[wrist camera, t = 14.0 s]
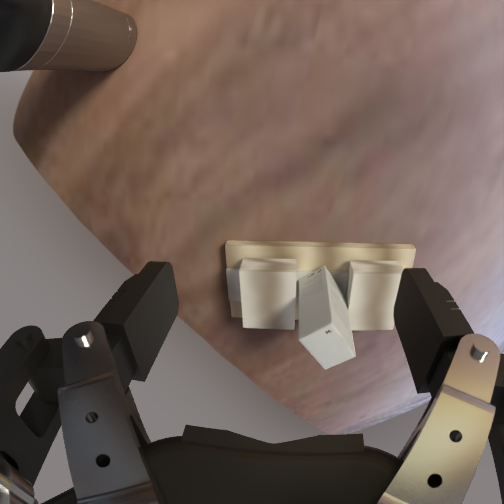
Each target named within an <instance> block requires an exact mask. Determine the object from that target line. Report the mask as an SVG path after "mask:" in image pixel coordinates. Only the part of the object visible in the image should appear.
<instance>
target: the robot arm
mask: <svg viewBox="0 0 504 504" xmlns="http://www.w3.org/2000/svg"><path fill="white" fill-rule="evenodd" d="M136 39H137V28H136V25H135V22H134V20H133V19H132V18H131V17H130V16H129V15H127V14H125V13H123V12H121V11H118V10H116V9H113V8H111V7H108V6H106V5H103V4H100V3H97V2H95V1H92V0H0V72H9V71H22V70H83V71H100V72H101V71H109V70H112V69H114V68H116V67H118V66H119V65H121V64H122V63H123V62H124V61H125V60H126V59H127V58H128V57H129V55H130V54H131V52H132V50H133V48H134V46H135V43H136ZM178 307H179V301H178V295H177V290H176V284H175V279H174V273H173V268H172V265H171V263H170V262H154V261H150V262H148V263H147V264H146V265H145V267H144V268H143V269H142V270H141V272H140V273H139V274H135V275H134V276H132V277H131V278H129V279H128V280H126V281H125V282H124V283H123V284H122V285H121V287H120V288H119V289H118V292H116V293H115V294H114V295H113V296H112V299H110V300H109V302H108V303H107V304H106V305H105V307H104V308H103V309H102V310H101V312H100V313H99V314H98V315H97V317H96V318H95V319H94V321H86V322H81V323H78V324H76V325H74V326H72V327H71V328H70V329H68V330H67V331H66V333H65V334H64V336H63V338H54V339H45V337H44V335H43V333H42V330H41V329H40V328H39V327H37V326H26V327H23V328H21V329H19V330H17V331H16V332H14V333H13V334H12V335H11V336H10V338H9V339H8V340H7V341H6V342H5V344H4V345H3V346H2V348H1V349H0V504H38V501H37V500H36V499H35V498H34V489H33V486H34V483H35V481H36V479H37V476H38V474H39V472H40V469H41V467H42V465H43V463H44V461H45V458H46V456H47V454H48V452H49V450H50V447H51V445H52V443H53V441H54V439H55V437H56V435H57V433H58V431H59V429H60V427H61V425H62V431H63V438H64V443H65V448H66V454H67V459H68V464H69V469H70V473H71V477H72V481H73V485H74V487H73V488H71V489H69V490H67V491H65V492H64V493H61V494H60V495H57V496H55V497H54V498H52V499H50V500H48V501H46V502H44V503H41V504H462V502H463V500H464V498H465V495H466V493H467V491H468V489H469V486H470V484H471V482H472V479H473V477H474V474H475V472H476V469H477V466H478V464H479V461H480V459H481V456H482V453H483V450H484V447H485V444H486V441H487V438H488V439H489V443H490V446H491V450H492V454H493V458H494V463H495V467H496V472H497V476H498V481H499V487H500V493H501V498H502V504H504V354H500V351H499V348H498V347H497V345H496V344H495V343H494V342H493V341H492V340H491V339H489V338H488V337H486V336H483V335H480V334H474V332H473V330H472V329H471V327H470V325H469V323H468V322H467V320H466V318H465V317H464V315H463V314H462V312H461V310H459V307H458V305H457V304H456V302H454V299H453V298H452V296H451V294H450V293H449V291H448V290H447V289H445V288H444V287H443V286H442V285H440V284H439V283H438V282H434V281H433V279H432V278H431V276H430V275H429V273H428V272H427V270H426V269H425V268H405V269H404V270H403V272H402V275H401V279H400V284H399V288H398V292H397V296H396V301H395V305H394V313H393V315H394V323H395V326H396V329H397V331H398V334H399V337H400V340H401V343H402V346H403V349H404V352H405V355H406V358H407V361H408V364H409V367H410V370H411V374H412V377H413V380H414V383H415V387H416V390H417V394H419V393H427V392H430V393H431V396H432V398H431V399H430V401H429V403H428V405H427V407H426V409H425V411H424V413H423V414H422V416H421V418H420V420H419V422H418V424H417V426H416V427H415V429H414V431H413V433H412V434H411V437H410V438H409V440H408V441H407V443H406V445H405V446H404V448H403V450H402V451H401V452H400V454H399V456H398V457H396V456H394V455H392V454H390V453H388V452H385V451H383V450H380V449H377V448H373V447H369V446H364V442H363V434H346V435H318V436H314V437H309V438H304V439H300V440H294V441H288V442H283V443H276V444H271V443H266V442H263V441H259V440H256V439H253V438H250V437H246V436H243V435H240V434H237V433H234V432H231V431H228V430H220V429H219V430H218V429H212V428H204V427H197V426H191V425H186V426H185V429H184V432H183V435H182V436H176V437H170V438H165V439H161V440H157V441H155V442H152V443H151V441H150V439H149V437H148V435H147V433H146V430H145V428H144V425H143V423H142V420H141V418H140V415H139V412H138V410H137V407H136V404H135V402H134V399H133V396H132V393H131V391H130V388H129V384H130V382H131V380H137V381H144V382H145V380H146V378H147V375H148V374H149V371H150V369H151V367H152V365H153V363H154V361H155V359H156V357H157V355H158V353H159V351H160V348H161V347H162V344H163V343H164V340H165V338H166V336H167V334H168V332H169V330H170V328H171V326H172V324H173V322H174V320H175V318H176V316H177V313H178ZM27 382H29V384H30V385H31V387H32V388H33V390H34V393H33V395H32V396H31V398H30V400H29V401H28V403H27V405H26V406H25V408H24V410H23V411H22V413H21V415H20V417H19V416H18V414H17V412H16V408H15V404H16V400H17V398H18V396H19V395H20V393H21V392H22V390H23V389H24V387H25V385H26V384H27Z"/></svg>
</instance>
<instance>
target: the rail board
mask: <svg viewBox="0 0 504 504" xmlns="http://www.w3.org/2000/svg"><path fill="white" fill-rule="evenodd" d="M225 251H226V263H227V270H226V274H227V285H228V295H229V301H230V306H231V316H232V317H239V318H243V328H260V329H286V330H294V327H295V320H299V280H300V279H301V278H303V277H305V276H307V275H308V274H310V273H312V272H314V271H316V270H317V269H319V268H321V267H323V266H325V267H326V268H327V270H328V271H329V272H330V274H331V275H332V277H333V278H334V280H335V281H336V283H337V284H338V286H339V287H340V289H341V290H342V292H343V293H344V295H345V298H346V303H347V308H348V313H349V319H350V324H351V330H393V327H394V315H393V313H394V305H395V301H396V296H397V292H398V288H399V284H400V279H401V275H402V272H403V270H404V269H405V268H412V267H413V262H414V257H415V252H416V249H415V247H414V246H413V245H411V244H374V243H333V242H283V241H227V242H226V244H225Z"/></svg>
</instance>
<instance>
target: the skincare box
mask: <svg viewBox="0 0 504 504" xmlns="http://www.w3.org/2000/svg"><path fill="white" fill-rule="evenodd" d="M298 339H299V341H300V342H301V343H302V345H303V346H304V347H305V348H306V349H307V350H308V351H309V352H310V354H311V355H312V356H313V357H314V358H315V359H316V360H317V361H318V362H319V364H320V365H321V366H322V367H323V368H324V369H325V370H326V369H328V368H330V367H333V366H335V365H337V364H339V363H342V362H344V361H346V360H349V359H351V358H354V357H355V356H356V354H355V348H354V341H353V335H352V330H351V324H350V319H349V313H348V308H347V303H346V298H345V295H344V293H343V292H342V290H341V289H340V287H339V286H338V284H337V283H336V281H335V280H334V278H333V277H332V275H331V274H330V272H329V271H328V270H327V268H326V267H325V266H323V267H321V268H319V269H317V270H316V271H314V272H312V273H310V274H308V275H307V276H305V277H303V278H301V279H300V280H299V337H298Z"/></svg>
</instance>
